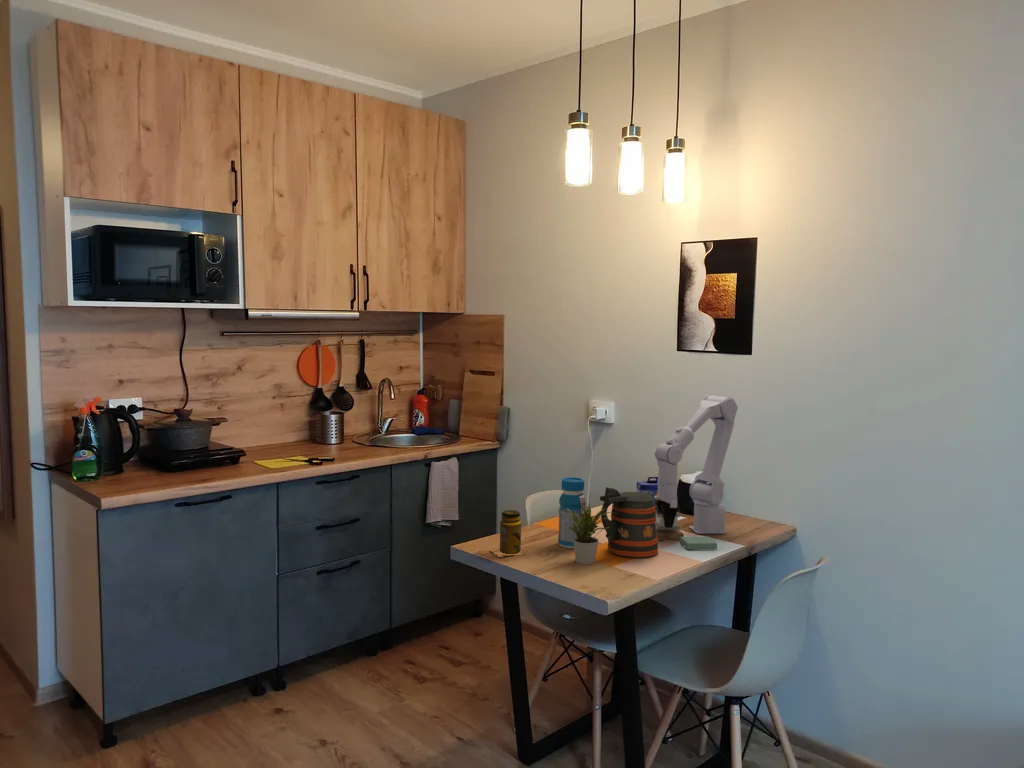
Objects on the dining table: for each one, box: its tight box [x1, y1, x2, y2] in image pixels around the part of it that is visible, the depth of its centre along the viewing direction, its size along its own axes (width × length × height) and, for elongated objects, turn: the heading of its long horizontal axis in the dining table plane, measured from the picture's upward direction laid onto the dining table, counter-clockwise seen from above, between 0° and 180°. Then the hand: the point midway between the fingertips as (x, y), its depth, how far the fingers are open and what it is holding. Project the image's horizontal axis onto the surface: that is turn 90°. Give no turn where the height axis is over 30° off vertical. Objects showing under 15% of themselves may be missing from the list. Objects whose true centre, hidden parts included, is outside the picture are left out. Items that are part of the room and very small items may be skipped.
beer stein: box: [599, 487, 659, 559], centre depth 216 cm, size 19×15×20 cm
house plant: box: [566, 504, 614, 566], centre depth 206 cm, size 14×14×16 cm
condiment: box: [499, 509, 522, 554], centre depth 214 cm, size 7×8×12 cm
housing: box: [655, 510, 681, 530], centre depth 233 cm, size 7×4×5 cm, turn 95°
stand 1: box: [656, 529, 685, 541], centre depth 233 cm, size 9×7×2 cm
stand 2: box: [679, 536, 718, 550], centre depth 224 cm, size 9×7×2 cm
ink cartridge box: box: [635, 476, 659, 511], centre depth 258 cm, size 10×6×14 cm, turn 96°
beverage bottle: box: [557, 476, 587, 549], centre depth 223 cm, size 8×8×20 cm
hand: (666, 525), depth 233 cm, fingers closed on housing, 4 cm apart
